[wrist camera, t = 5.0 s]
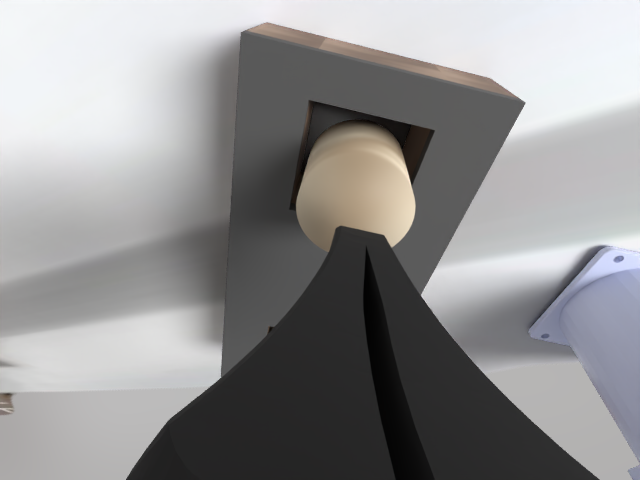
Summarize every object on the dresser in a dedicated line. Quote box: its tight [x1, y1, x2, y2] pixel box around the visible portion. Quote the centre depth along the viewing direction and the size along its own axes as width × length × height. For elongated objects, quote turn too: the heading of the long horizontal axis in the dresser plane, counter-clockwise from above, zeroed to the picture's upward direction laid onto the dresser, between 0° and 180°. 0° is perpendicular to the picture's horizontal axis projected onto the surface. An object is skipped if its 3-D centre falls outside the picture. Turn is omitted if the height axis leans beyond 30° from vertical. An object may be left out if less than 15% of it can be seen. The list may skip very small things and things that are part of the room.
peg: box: [296, 119, 415, 252], centre depth 13 cm, size 4×4×4 cm
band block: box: [221, 23, 525, 377], centre depth 20 cm, size 10×21×4 cm, turn 168°
